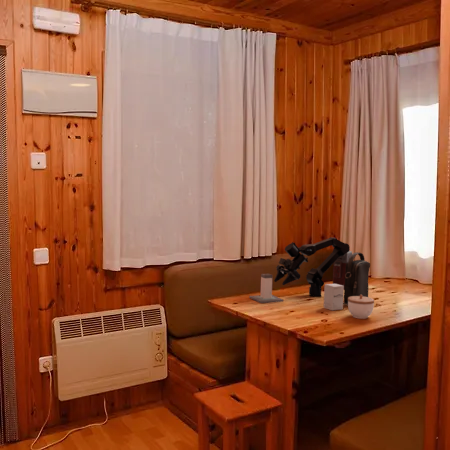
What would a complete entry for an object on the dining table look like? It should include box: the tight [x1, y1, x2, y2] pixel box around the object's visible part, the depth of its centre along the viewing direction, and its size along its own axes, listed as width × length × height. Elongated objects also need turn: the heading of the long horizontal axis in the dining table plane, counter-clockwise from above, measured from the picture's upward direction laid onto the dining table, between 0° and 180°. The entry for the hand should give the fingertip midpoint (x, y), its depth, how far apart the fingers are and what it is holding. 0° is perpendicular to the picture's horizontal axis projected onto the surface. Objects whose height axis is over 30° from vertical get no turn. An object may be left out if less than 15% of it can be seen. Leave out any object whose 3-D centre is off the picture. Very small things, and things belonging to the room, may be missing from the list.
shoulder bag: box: [343, 252, 371, 306], centre depth 290 cm, size 23×9×28 cm, turn 142°
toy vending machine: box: [332, 250, 353, 287], centre depth 329 cm, size 9×11×28 cm
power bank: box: [260, 273, 273, 299], centre depth 292 cm, size 5×5×13 cm
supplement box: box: [323, 283, 344, 311], centre depth 275 cm, size 7×7×13 cm
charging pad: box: [248, 294, 284, 304], centre depth 293 cm, size 14×14×1 cm
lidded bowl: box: [347, 295, 375, 320], centre depth 258 cm, size 13×13×11 cm
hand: (278, 283), depth 295 cm, fingers open, 9 cm apart
